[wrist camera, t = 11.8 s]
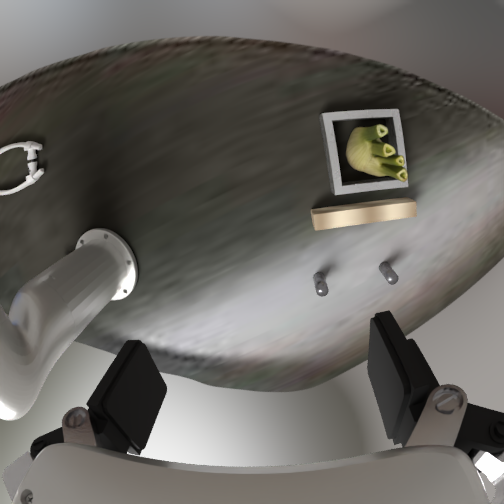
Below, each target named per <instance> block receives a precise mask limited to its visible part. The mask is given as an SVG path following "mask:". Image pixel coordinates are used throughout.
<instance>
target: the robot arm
mask: <svg viewBox="0 0 504 504" xmlns="http://www.w3.org/2000/svg"><path fill="white" fill-rule="evenodd" d="M137 279H138V268H137V263H136V259H135V256H134V254H133V252H132V250H131V249H130V247H129V246H128V244H127V243H126V242H125V241H124V240H123V239H122V238H121V237H120V236H119V235H118V234H116V233H114V232H113V231H111V230H108V229H105V228H94V229H91V230H89V231H87V232H86V233H84V234H83V235H82V236H81V237H80V239H79V240H78V242H77V245H76V249H75V250H74V251H73V252H71V253H70V254H68V255H67V256H65V257H64V258H62V259H61V260H59V261H58V262H56V263H55V264H53V265H52V266H50V267H49V268H47V269H46V270H44V271H43V272H41V273H40V274H39V275H37V276H36V277H34V278H33V279H31V280H30V281H29V282H27V283H26V284H25V285H23V286H22V287H21V288H20V290H19V291H18V292H17V294H16V295H15V297H14V299H13V302H12V305H11V308H10V312H9V317H8V316H7V315H6V314H5V312H4V310H3V308H2V306H1V304H0V418H1V419H5V420H16V419H19V418H20V417H22V416H23V415H25V414H26V413H27V412H28V411H29V410H30V408H31V407H32V405H33V404H34V402H35V400H36V398H37V397H38V395H39V392H40V390H41V388H42V385H43V383H44V381H45V379H46V378H47V375H48V374H49V372H50V370H51V369H52V367H53V365H54V364H55V363H56V361H57V360H58V359H59V357H60V356H61V355H62V354H63V352H64V351H65V350H66V349H67V347H68V346H69V345H70V344H71V343H72V342H73V341H74V339H75V338H76V337H77V336H78V335H79V334H80V333H81V332H82V331H83V329H84V328H85V327H86V326H87V325H88V324H89V323H90V322H91V321H92V319H93V318H94V317H95V316H96V315H97V314H98V313H99V312H100V311H101V310H102V309H103V308H104V306H105V305H106V304H107V303H108V302H109V301H110V300H119V299H123V298H125V297H126V296H128V295H129V294H130V293H131V292H132V290H133V289H134V287H135V285H136V283H137ZM367 368H368V375H369V378H370V381H371V384H372V387H373V390H374V393H375V397H376V400H377V403H378V406H379V410H380V413H381V416H382V419H383V423H384V427H385V430H386V434H387V437H388V439H393V442H394V445H396V444H399V443H402V446H403V447H402V448H396V449H391V450H386V451H381V452H376V453H371V454H366V455H361V456H356V457H350V458H345V459H339V460H332V461H325V462H317V463H309V464H300V465H287V466H269V467H225V466H207V465H195V464H185V463H177V462H169V461H162V460H155V459H150V458H144V457H139V456H134V455H129V454H127V451H128V452H129V453H131V454H135V455H140V453H141V451H142V450H143V449H144V448H145V446H146V444H147V441H148V439H149V436H150V433H151V431H152V428H153V426H154V423H155V420H156V418H157V415H158V413H159V410H160V408H161V405H162V402H163V400H164V398H165V395H166V392H167V386H166V384H165V382H164V380H163V378H162V376H161V374H160V373H159V371H158V369H157V367H156V365H155V363H154V361H153V359H152V357H151V355H150V353H149V351H148V349H147V347H146V345H145V344H144V343H142V342H141V341H140V340H128V341H126V343H125V344H124V346H123V347H122V349H121V350H120V352H119V353H118V355H117V357H116V358H115V359H114V361H113V363H112V364H111V365H110V367H109V369H108V370H107V372H106V373H105V375H104V376H103V378H102V380H101V381H100V383H99V384H98V386H97V388H96V389H95V391H94V392H93V394H92V396H91V397H90V399H89V400H88V402H87V406H88V407H89V409H88V410H86V409H85V408H83V407H75V408H72V409H71V410H69V411H68V412H67V413H66V414H65V415H64V417H63V419H62V427H61V428H58V429H56V430H54V431H52V432H49V433H47V434H45V435H43V436H40V437H38V438H37V439H35V440H34V442H33V443H32V445H31V450H30V451H31V453H30V452H29V451H27V452H26V453H25V454H23V455H22V456H21V457H19V458H18V459H17V460H15V461H14V462H13V463H12V464H10V465H9V466H7V467H6V469H5V470H4V472H3V481H4V483H5V486H6V488H7V491H8V493H9V495H10V498H11V500H12V504H504V413H502V412H498V411H494V410H491V409H487V408H484V407H480V406H476V405H473V404H470V403H467V401H468V399H467V395H466V393H465V392H464V391H463V390H462V389H461V388H460V387H458V386H456V385H450V384H446V385H441V386H440V385H439V383H438V381H437V379H436V378H435V376H434V374H433V372H432V370H431V368H430V367H429V365H428V363H427V361H426V360H425V358H424V356H423V354H422V353H421V351H420V349H419V347H418V346H417V344H416V342H415V341H414V340H413V339H408V340H407V339H406V337H405V336H404V334H403V332H402V330H401V329H400V327H399V325H398V324H397V322H396V320H395V319H394V317H393V315H392V314H391V312H390V311H384V312H380V313H376V314H375V317H374V318H371V320H370V339H369V354H368V366H367ZM480 472H483V473H485V474H486V475H487V476H488V478H487V479H488V480H490V481H491V482H492V483H493V484H494V485H495V489H496V492H495V497H494V499H493V500H492V502H491V503H489V499H488V496H487V493H486V490H485V487H484V484H483V482H482V479H481V477H480V475H479V473H480Z"/></svg>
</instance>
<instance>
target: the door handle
mask: <svg viewBox="0 0 504 504" xmlns="http://www.w3.org/2000/svg"><path fill="white" fill-rule="evenodd" d="M14 147H24V151H28V156H27V160H31V161H32V162H31V163H28V167H29V170H28V172H29V173H30V175H28V176H26V181H25V182H24V183H23V184H21V185H19V186H18V187H16V188H14V189H11V190H0V195H7V194H12V193H15V192H17V191H19V190H22V189H23V188H25V187H27V186H28V185H31V184H33V183H35V182H36V181H37V180H38V179H39V178H40V176H41V175H42V174H44V169H43V168H42V169H41V168H40V169H39V170H38V171H37V161H36V162H33V159H35V158H37V154H36V149H37V150H41V149H42V144H38V143H37V142H33V141H27V142H19V143H14V144H10V145H7V146H5V147H3V148H1V149H0V154H2V153H3V152H5V151H7V150H9V149H11V148H14Z"/></svg>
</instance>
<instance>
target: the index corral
mask: <svg viewBox="0 0 504 504" xmlns="http://www.w3.org/2000/svg"><path fill="white" fill-rule="evenodd" d="M364 119H385V121H386V127H387V129H388V140H389V145H391V146H392V147H394V149H395V151H396V153H395V154H394V155H402V156H403V157H404V161H405V164H404V166H402V167H404V168H406V170H407V166H406V156H405V148H404V140H403V133H402V127H401V120H400V115H399V109H376V110H356V111H342V112H330V113H322V114H320V115H319V120H320V125H321V130H322V136H323V142H324V147H325V154H326V160H327V166H328V173H329V180H330V187H331V192H332V193H333V194H334V195H340V194H348V193H356V192H365V191H373V190H382V189H391V188H401V187H408V179H407V180H406V181H405V182H402V181H399V180H398V179H396V178H394V177H387V178H377V179H368V180H359V181H350V182H342V181H341V173H340V166H339V159H338V153H337V147H336V141H335V135H334V129H333V124H332V122H338V121H349V120H364Z"/></svg>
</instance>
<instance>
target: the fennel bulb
mask: <svg viewBox="0 0 504 504" xmlns="http://www.w3.org/2000/svg"><path fill="white" fill-rule="evenodd" d="M386 134H388V129H387V127H385V126H384V125H381V124H377V125H375V126H371V127H357V128H355V129H354V130H353V131H352V133H351V135H350V137H349V140H348V144H347V148H346V158H347V161H348V163H349V164H350V166H351V167H352V168H354V169H355V170H358V171H363V172H365V173H368V174H371V175H375V176H391V177H394V178H396V179H398V180H399V181H402V182H405V181H406V180H407V179H408V173H407V170H406V168H404V167H402V166H404V164H405V161H404V157H403V156H402V155H394V154H395V153H396V151H395V149H394V147H392V146H391V145H389V144H387V143H383V142H382V141H381V140H380V139H379V138H381V137H383V136H384V135H386Z"/></svg>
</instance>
